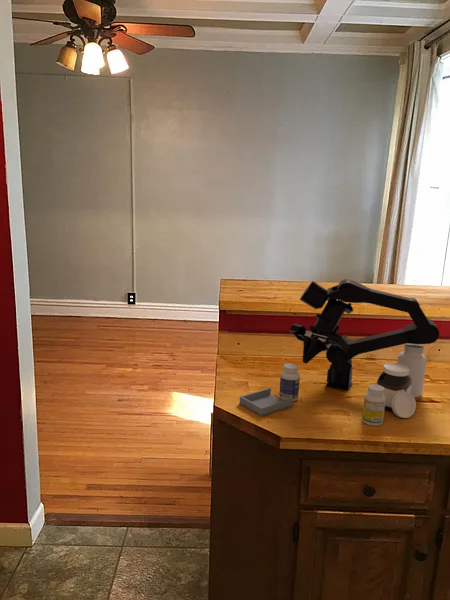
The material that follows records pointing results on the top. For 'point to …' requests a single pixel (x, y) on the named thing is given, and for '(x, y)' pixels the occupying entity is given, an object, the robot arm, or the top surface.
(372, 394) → the supplement bottle
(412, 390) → the pill bottle
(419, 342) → the robot arm
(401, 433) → the top surface
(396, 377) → the spread jar
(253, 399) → the tray
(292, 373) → the pill bottle
